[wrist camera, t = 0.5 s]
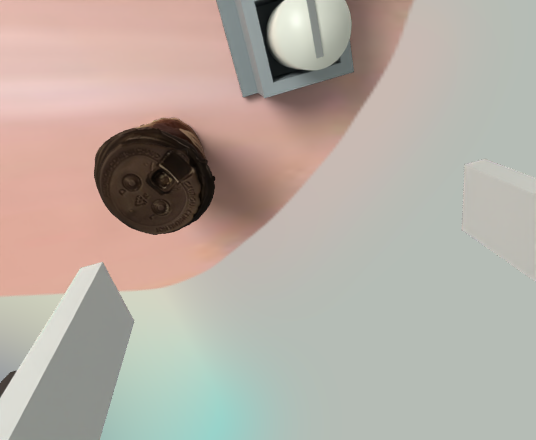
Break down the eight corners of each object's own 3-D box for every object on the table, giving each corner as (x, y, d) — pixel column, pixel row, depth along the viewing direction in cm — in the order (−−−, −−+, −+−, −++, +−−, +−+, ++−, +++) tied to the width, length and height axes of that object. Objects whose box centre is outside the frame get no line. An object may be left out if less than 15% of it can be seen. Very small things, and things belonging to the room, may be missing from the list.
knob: (258, 8, 28) (269, -5, 22) (319, -10, 28) (346, -27, 22) (273, 75, 30) (287, 79, 24) (330, 59, 30) (357, 59, 25)
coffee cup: (210, 104, 34) (209, 128, 23) (218, 183, 38) (220, 238, 26) (120, 109, 33) (70, 136, 22) (137, 189, 37) (102, 249, 25)
